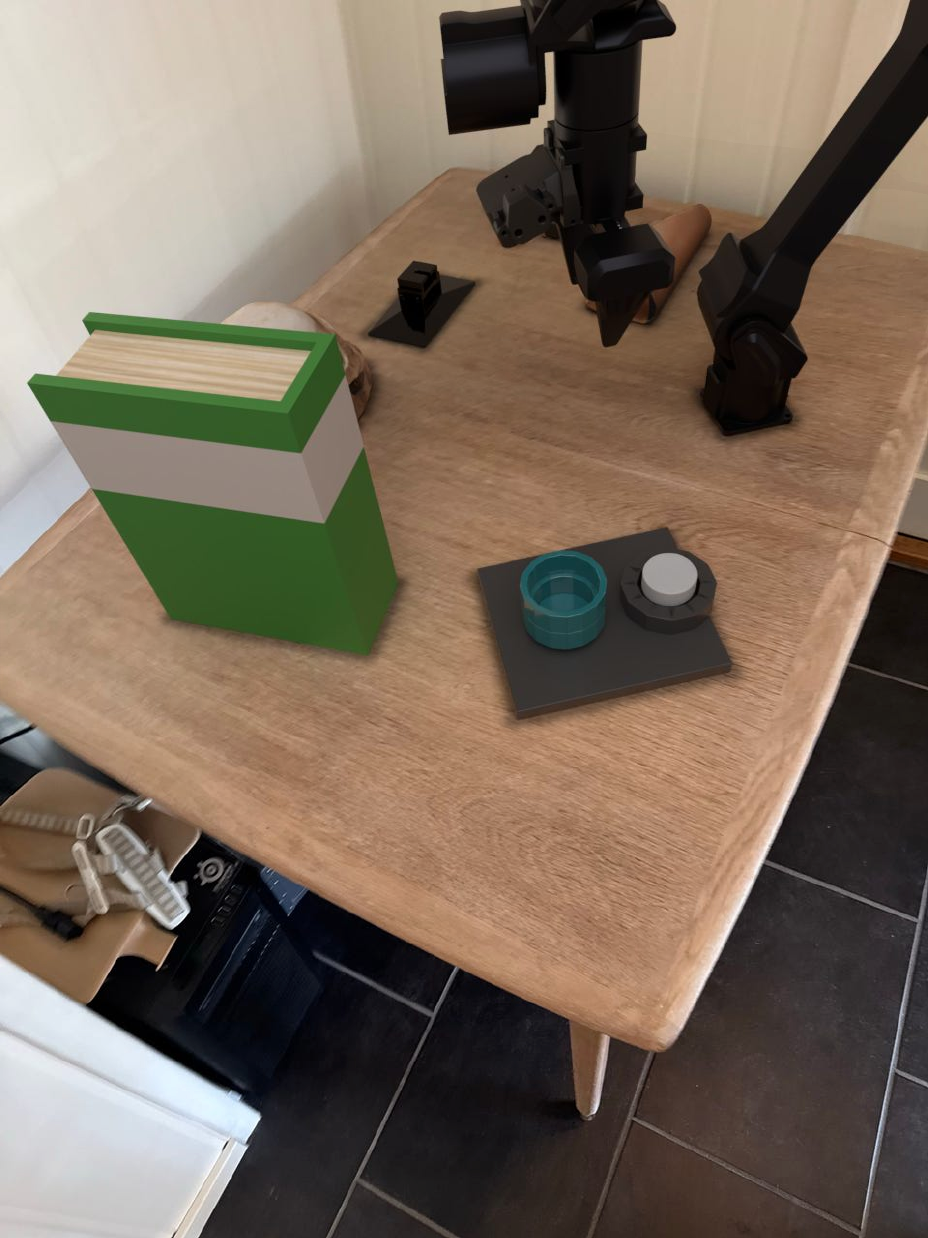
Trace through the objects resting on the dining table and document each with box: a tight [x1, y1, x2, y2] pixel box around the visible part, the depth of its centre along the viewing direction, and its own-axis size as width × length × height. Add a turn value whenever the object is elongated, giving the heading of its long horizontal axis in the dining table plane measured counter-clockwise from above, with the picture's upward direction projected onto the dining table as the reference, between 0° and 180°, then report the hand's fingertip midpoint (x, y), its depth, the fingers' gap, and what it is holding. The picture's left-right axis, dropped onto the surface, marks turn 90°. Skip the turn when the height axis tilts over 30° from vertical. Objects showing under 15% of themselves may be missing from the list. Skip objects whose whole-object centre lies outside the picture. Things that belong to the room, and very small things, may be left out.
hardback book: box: [26, 311, 400, 656], centre depth 63 cm, size 18×7×24 cm, turn 74°
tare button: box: [641, 553, 697, 606], centre depth 66 cm, size 4×4×2 cm
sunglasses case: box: [583, 203, 713, 325], centre depth 94 cm, size 18×7×7 cm
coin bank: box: [219, 301, 373, 421], centre depth 82 cm, size 16×17×13 cm
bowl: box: [520, 549, 607, 650], centre depth 65 cm, size 6×6×4 cm
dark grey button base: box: [476, 526, 733, 721], centre depth 67 cm, size 17×14×3 cm
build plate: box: [367, 260, 477, 349], centre depth 94 cm, size 12×7×5 cm, turn 154°
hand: (593, 313), depth 72 cm, fingers open, 9 cm apart
